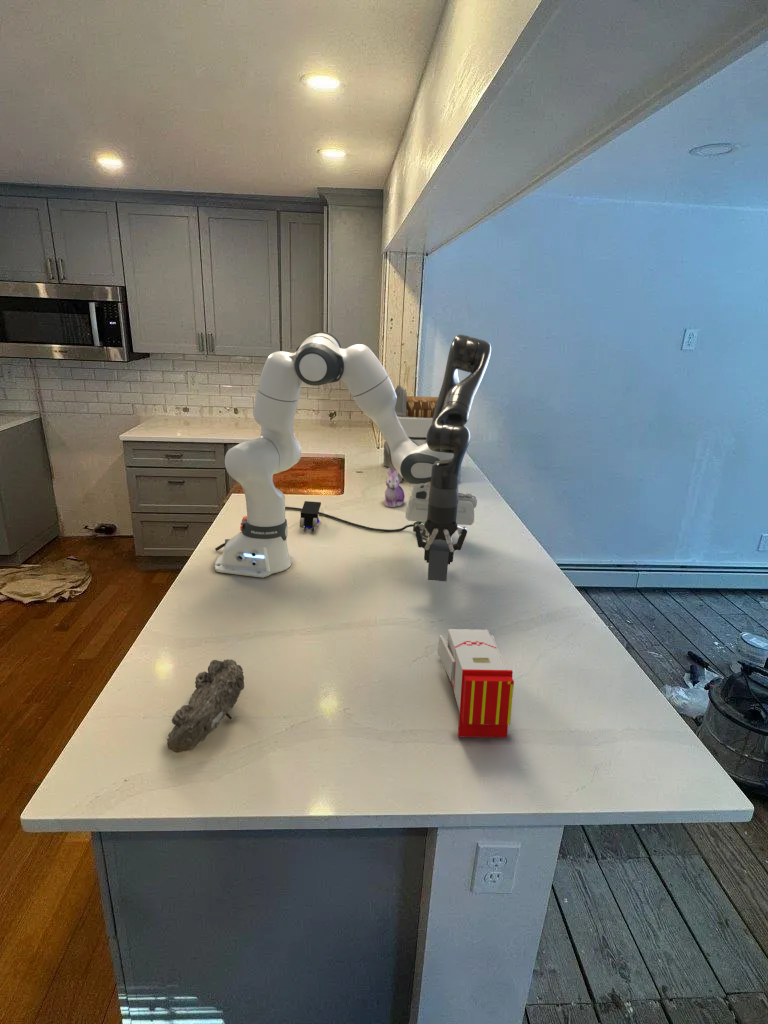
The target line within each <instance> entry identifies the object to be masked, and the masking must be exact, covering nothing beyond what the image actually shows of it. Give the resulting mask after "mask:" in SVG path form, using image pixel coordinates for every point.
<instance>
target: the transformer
mask: <svg viewBox="0 0 768 1024" xmlns="http://www.w3.org/2000/svg"><path fill="white" fill-rule="evenodd" d="M394 390H395V393H396V396H397V402H396V405H395V413H396V416H397V418H398V420H399V422H400V424H401V426H402V428H403V429H404V431H405V433H406V435H407V436H408V438H409V439H411V440H412V441H414V442H415V443H416V444H418V445H419V446H421V445H423V444H425V441H426V436H427V432H428V430H429V428H430V426H431V424H432V420H433V415H434V411H435V407H436V403H437V400H438V397H439V396H415V395H414V396H413V395H412V396H411V395H407V394H408V393H407V390H406V389H404V388H403V387H402V385H399V384H398V385H397V386H396V388H395V389H394ZM383 466H384V467H388V468H390V469H391V471H392V472H394V470H395V469H394V468H393V467H392V465H391V463H390V459H389V449H388V445H387V443H386V441H384V442H383ZM461 472H462V467H461V468H460V474H459V483H461ZM397 476H398V479H399V481H400V483H402V482H403V477H402V476H401V475H400V474H399V473H398V475H397Z"/></svg>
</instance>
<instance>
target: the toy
mask: <svg viewBox="0 0 768 1024" xmlns="http://www.w3.org/2000/svg"><path fill="white" fill-rule="evenodd" d="M446 640H447V643H446V641H445V639H444V636H443V635H442V634H439V637H438V646H437V656H438V657H439V659H440V661H441V663H442V666H443V668H444V670H445V672H446V674H447V677H448V679H449V681H450V684H451V687H452V690H453V693H454V697H455V701H456V705H457V708H458V711H459V714H458V715H459V716H458V730H457V731H458V732H457V737H458V738H508V731H509V726H510V725H511V717H512V707H513V697H514V696H513V695H514V684H515V680H514V679H513V673H514V671H513V670H512V669H508V667H507V665H506V662H505V661H504V659H503V658H502V655H501V653H500V651H499V649H498V647H497V643H496V639H495V637H494V635H493V634H491V632H490V631H489V629H467V628H466V629H465V628H463V629H461V628H460V629H459V628H448V630H447V639H446Z"/></svg>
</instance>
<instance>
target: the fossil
mask: <svg viewBox="0 0 768 1024" xmlns="http://www.w3.org/2000/svg"><path fill="white" fill-rule="evenodd" d="M243 670H244V669H243V667H242V665H240V664H237V662H236V661H235V660H234V659H232V658H231V659H227V658H226V659H224V660H223V661H222V660H217V659H212V660H211V661H210V663H209V665H208V666H207V671H201V672H199V673H198V674H197V675H196V676H195V680H194V684H195V685H194V687H195V689H194V690H193V693H192V694H191V697H190V698H189V700H188V704H184V705H182V706H181V707H180V709H177V710H176V711H175V713H174V715H173V716H172V718H171V723H172V724H173V727H172V730H171V731H170V732H168V734H167V738H166V741H167V742H166V745H167V749H168V750H169V751H173V752H174V753H176V754H178V753H182V752H188V751H189V752H192V751H193V750H195V748H196V747H197V746H199V744H200V743H201V742H203V741H204V740H205V739H206V738H207V737H208V736H209V735H210V734H211V733H212V732H214V730H215V729H217V727H218V726H219V724H220V722H221V721H222V720H223V719H224V718H225V716H226V717H227V719H229V720H233V717H232V715H230V714H229V710H230V709H231V708H234V706H235V704H236V703H237V702H238V699H239V697H240V695H241V693H242V691H243V690H245V689H244V688H245V675H244V671H243Z"/></svg>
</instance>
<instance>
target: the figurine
mask: <svg viewBox="0 0 768 1024" xmlns="http://www.w3.org/2000/svg"><path fill="white" fill-rule="evenodd" d="M397 475H398V472H397V471H396V470H394V472H392V471H391V469H390V467H388V468H387V478H386V479H385V484H386V485H385V486H386V489H385V492H384V498H385V499H384V501H383V503H384V505H385V507H389V508H395V507H400V506H403V505H404V502H405V490H404V489H403V487H402V486H401V485H400V484H401V482H400V481H399V479H398V476H397Z"/></svg>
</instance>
